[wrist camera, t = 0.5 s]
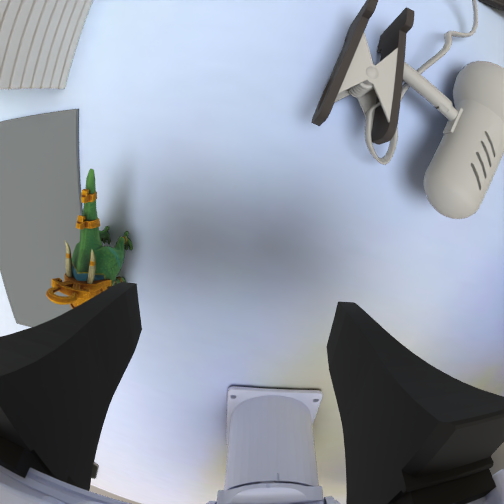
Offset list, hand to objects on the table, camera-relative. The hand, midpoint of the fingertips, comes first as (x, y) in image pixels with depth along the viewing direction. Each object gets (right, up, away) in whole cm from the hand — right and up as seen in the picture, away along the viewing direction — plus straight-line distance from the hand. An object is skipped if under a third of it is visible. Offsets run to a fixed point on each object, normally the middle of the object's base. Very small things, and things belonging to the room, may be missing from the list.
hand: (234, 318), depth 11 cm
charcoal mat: (-16, +4, +9) cm, 19 cm away
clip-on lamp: (+12, +14, +4) cm, 19 cm away
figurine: (-8, +3, +9) cm, 13 cm away
